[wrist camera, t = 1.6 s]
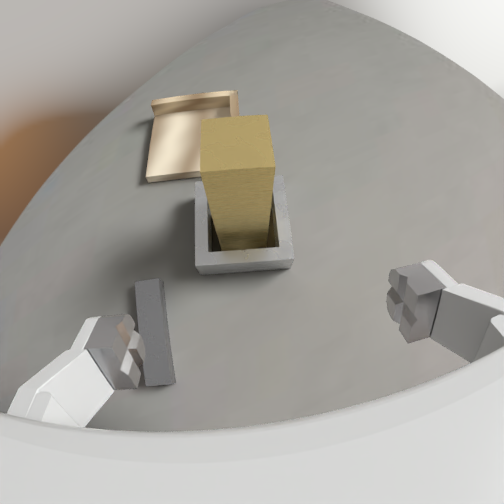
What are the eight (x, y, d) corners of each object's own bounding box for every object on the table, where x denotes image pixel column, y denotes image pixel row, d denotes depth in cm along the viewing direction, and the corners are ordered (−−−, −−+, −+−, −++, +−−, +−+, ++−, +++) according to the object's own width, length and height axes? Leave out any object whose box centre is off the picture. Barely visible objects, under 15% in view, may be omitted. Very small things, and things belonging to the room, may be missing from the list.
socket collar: (200, 274, 30) (195, 266, 27) (199, 196, 32) (195, 181, 30) (290, 268, 30) (294, 258, 27) (280, 190, 33) (282, 175, 30)
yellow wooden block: (222, 252, 30) (200, 172, 17) (220, 212, 32) (201, 119, 19) (266, 248, 30) (275, 166, 17) (262, 209, 32) (267, 114, 19)
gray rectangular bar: (176, 382, 26) (171, 384, 24) (152, 384, 26) (145, 386, 24) (164, 283, 30) (158, 278, 28) (141, 286, 30) (134, 281, 28)
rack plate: (148, 182, 33) (140, 167, 30) (157, 116, 37) (152, 100, 34) (243, 173, 33) (242, 156, 30) (238, 107, 37) (237, 90, 34)
